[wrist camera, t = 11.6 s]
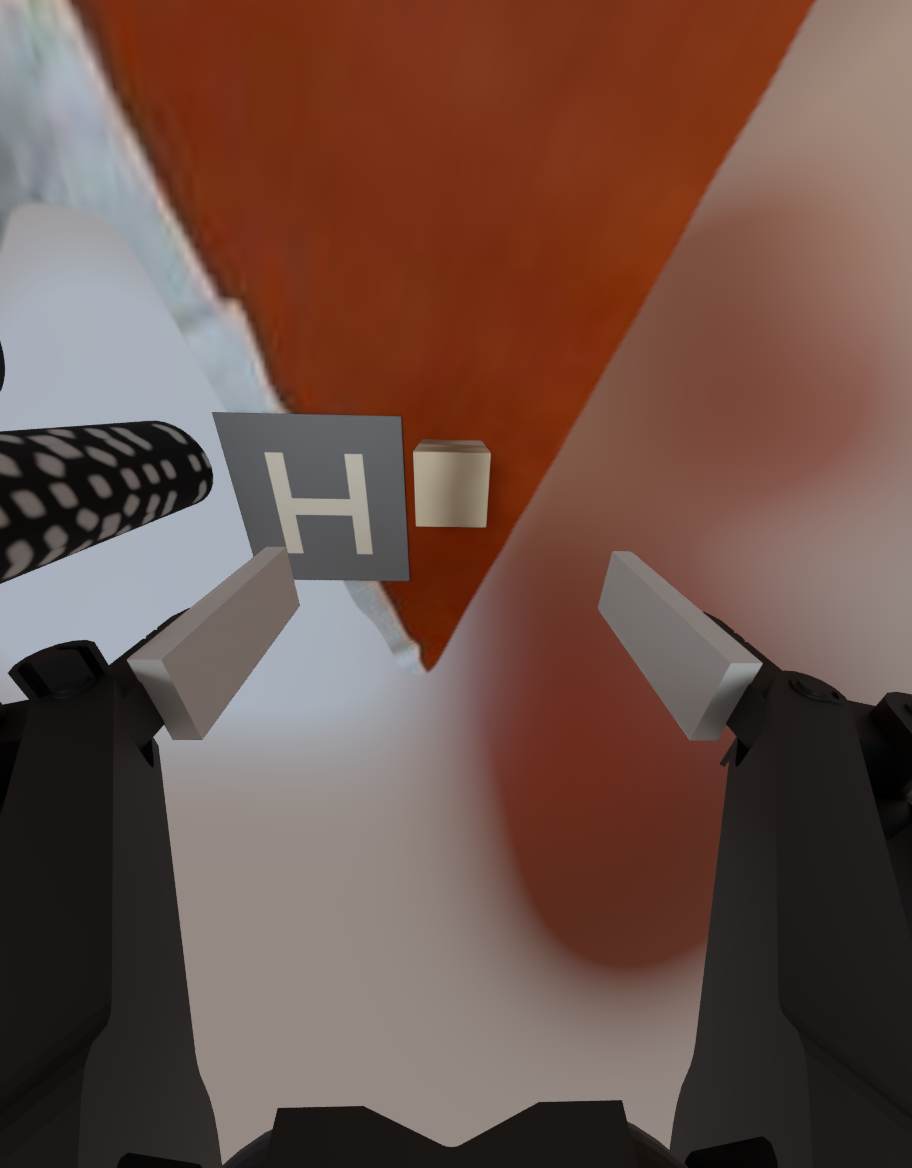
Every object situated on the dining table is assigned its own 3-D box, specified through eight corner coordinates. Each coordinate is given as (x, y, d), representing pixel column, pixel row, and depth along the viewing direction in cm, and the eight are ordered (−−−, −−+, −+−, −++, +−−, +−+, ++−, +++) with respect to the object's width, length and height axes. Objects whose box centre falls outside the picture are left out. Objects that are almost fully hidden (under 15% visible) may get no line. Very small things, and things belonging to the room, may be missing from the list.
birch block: (423, 499, 37) (416, 526, 29) (422, 439, 34) (413, 451, 26) (478, 500, 37) (486, 527, 29) (481, 440, 34) (490, 453, 26)
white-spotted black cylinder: (227, 499, 37) (21, 591, 19) (154, 510, 37) (-112, 609, 20) (188, 414, 33) (-117, 432, 15) (107, 427, 33) (-279, 458, 16)
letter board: (261, 577, 41) (259, 579, 41) (213, 412, 33) (211, 412, 32) (409, 579, 42) (409, 581, 41) (401, 416, 33) (400, 416, 33)
